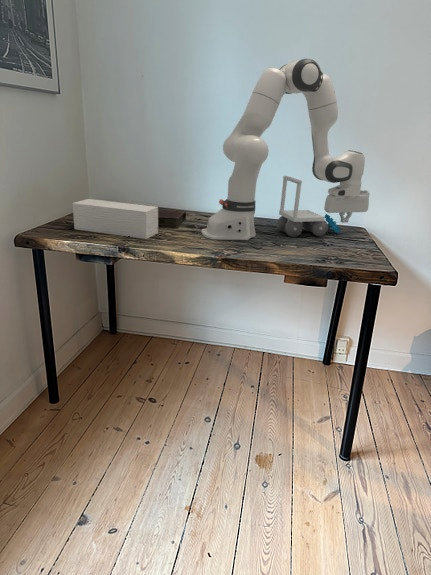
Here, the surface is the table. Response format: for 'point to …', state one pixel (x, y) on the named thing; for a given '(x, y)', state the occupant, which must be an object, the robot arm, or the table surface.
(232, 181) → the robot arm
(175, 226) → the diary
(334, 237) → the table surface
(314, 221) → the trolley
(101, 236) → the table surface
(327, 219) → the blue bumpy piece
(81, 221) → the long white foam block
